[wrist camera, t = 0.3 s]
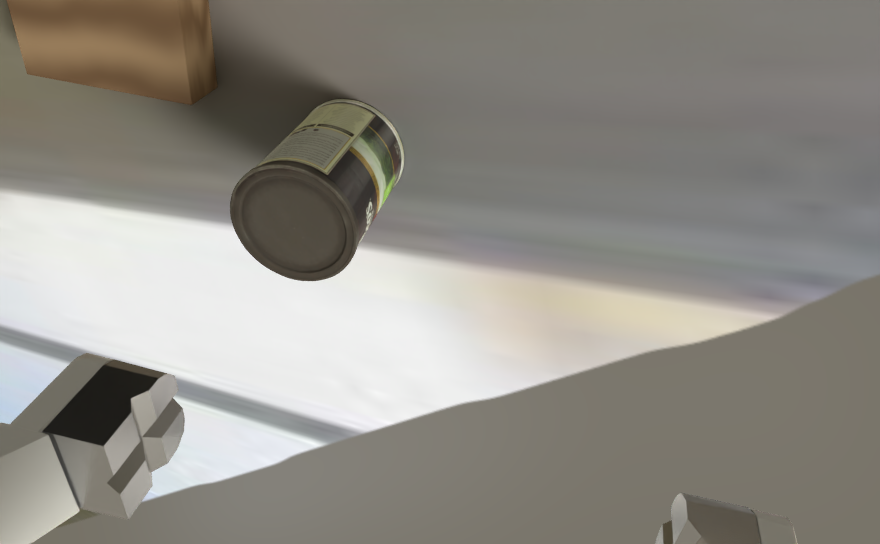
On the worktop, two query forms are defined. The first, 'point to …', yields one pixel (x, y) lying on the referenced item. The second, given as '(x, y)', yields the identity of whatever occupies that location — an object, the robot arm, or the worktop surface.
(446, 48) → the worktop surface
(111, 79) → the walnut block
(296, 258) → the coffee can
